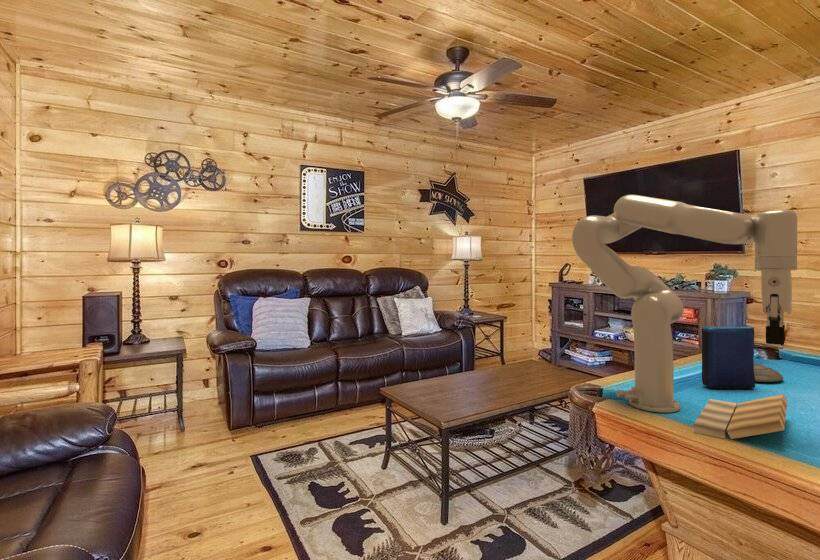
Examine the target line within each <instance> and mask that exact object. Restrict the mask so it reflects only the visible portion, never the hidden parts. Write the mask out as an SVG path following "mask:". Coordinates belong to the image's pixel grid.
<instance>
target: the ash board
mask: <svg viewBox="0 0 820 560" xmlns="http://www.w3.org/2000/svg"><path fill="white" fill-rule="evenodd" d="M737 405H738V403H737V402H732V401H725V400H719V399H718V400H717V399H714V398H713V399H712V398H709V400H708V401H707V403H706V405H705V406H704V407H703V409H702V410H701V412H700V414H699V415H698V417H697V418H696V420H695V421H694V423H693V433H695V434H700V435H705V436H706V435H707V436H710V437H715V438H719V439H720V438H721V439H726V437H727V435H728V432H727V428H728V426H729V423H730V421H731V419H732V417H733V414H734V412H735V410H736V408H737Z"/></svg>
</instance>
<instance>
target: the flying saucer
mask: <svg viewBox="0 0 820 560" xmlns="http://www.w3.org/2000/svg"><path fill="white" fill-rule="evenodd" d="M754 375H755V383H756V382H757V383H759V382H760V383H774V382H775V383H776V382H780V381H783V380H784V379H785V378H784V376H783V375H782V374H781V373H780V372H779V371H777V369H776V370H775V369H774V368H772V367H769V366H765V365H764V364H761V363H756V362H754Z"/></svg>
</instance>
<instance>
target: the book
mask: <svg viewBox="0 0 820 560" xmlns="http://www.w3.org/2000/svg"><path fill="white" fill-rule="evenodd" d="M754 356H755V327H753V326H750V325H748V324H744V325H735V326H734V325H726V326H720V325H719V326H714V325H713V326H712V325H711V326H707V325H706V326H702V328H701V382H702V385H703V386H705V387H708V388H710V389H711V388H712V389H755V388H756V381H755V375H754V363H755V361H754Z"/></svg>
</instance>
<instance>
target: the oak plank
mask: <svg viewBox="0 0 820 560" xmlns="http://www.w3.org/2000/svg"><path fill="white" fill-rule="evenodd" d="M787 409H788V401H787V398H786V396H785V395H784V394H783V393H781V394H777V395H773V396H768V397H762V398H758V399H753V400H749V401H748V400H747V401H744V402H739V403H737V408H736V410H735V412H734V414H733V417H732V419H731V421H730V423H729V426H728V428H727V435H728V436H729V438H730V439H731V440H732V439H733V440H734V439H740V438H746V437H751V436H758V435H764V434H765V435H766V434H770V433H777V432H782V431H785V425H786V419H787V418H786V417H787Z"/></svg>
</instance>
